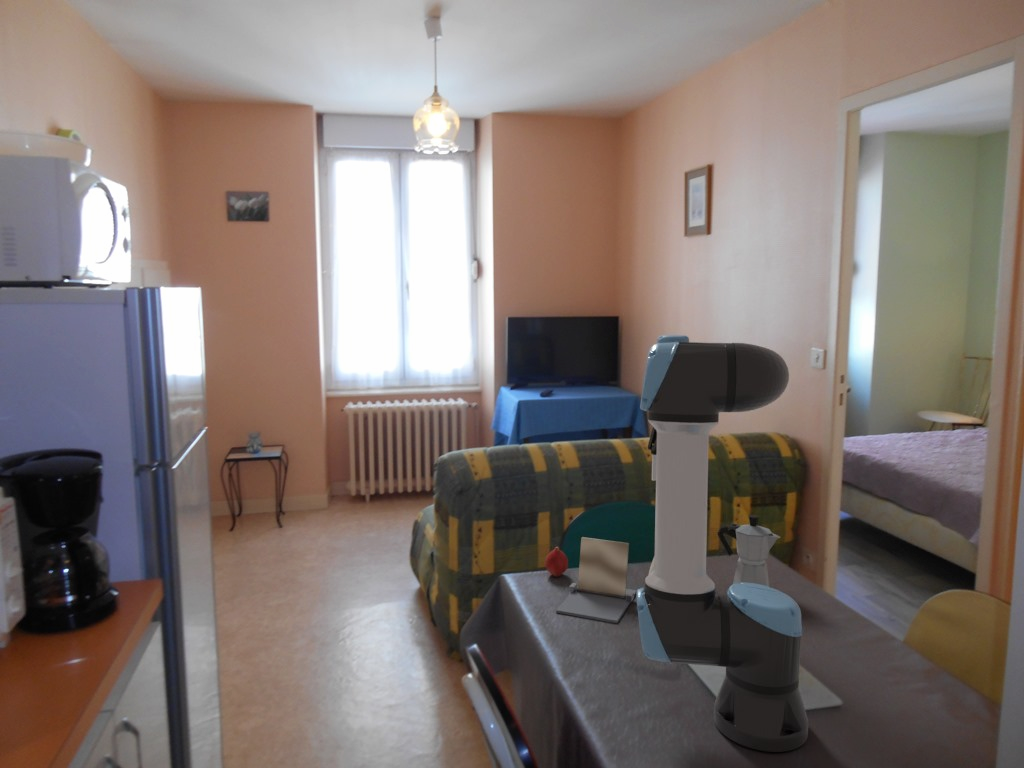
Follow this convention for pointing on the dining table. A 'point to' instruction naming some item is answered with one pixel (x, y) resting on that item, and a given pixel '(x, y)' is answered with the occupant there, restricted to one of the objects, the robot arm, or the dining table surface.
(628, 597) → the hinge blocks
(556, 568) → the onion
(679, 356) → the robot arm
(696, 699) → the dining table surface
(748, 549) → the coffee maker
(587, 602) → the base plate
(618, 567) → the flap
